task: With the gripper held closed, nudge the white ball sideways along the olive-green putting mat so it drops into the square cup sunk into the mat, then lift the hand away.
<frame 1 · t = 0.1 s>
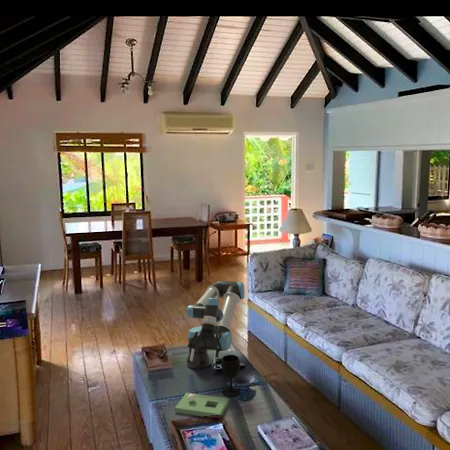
hand: (202, 361, 265), 15 cm above the table, tool tilted 35°, fingers open, 13 cm apart
putting mat: (202, 407, 246), on the table
ball: (191, 397, 247), point 4 cm above the table, touching putting mat
wine glass: (231, 392, 262), on the table
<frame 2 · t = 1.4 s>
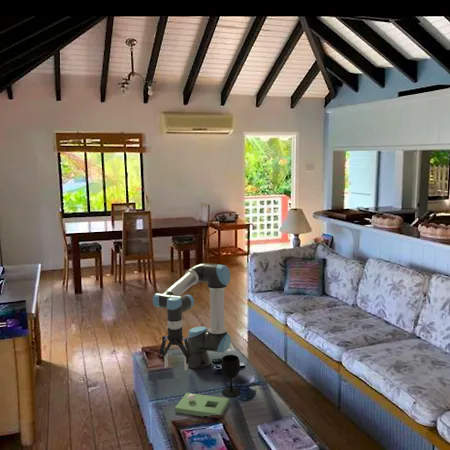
hand: (176, 367, 248), 20 cm above the table, tool pointing down, fingers open, 10 cm apart
nothing on the table moved.
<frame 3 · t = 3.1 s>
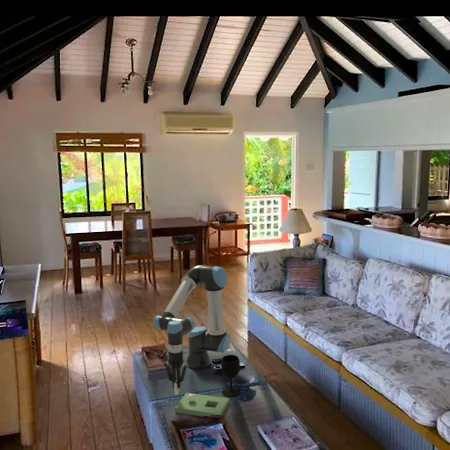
hand: (176, 393, 249), 6 cm above the table, tool pointing down, fingers closed
nothing on the table moved.
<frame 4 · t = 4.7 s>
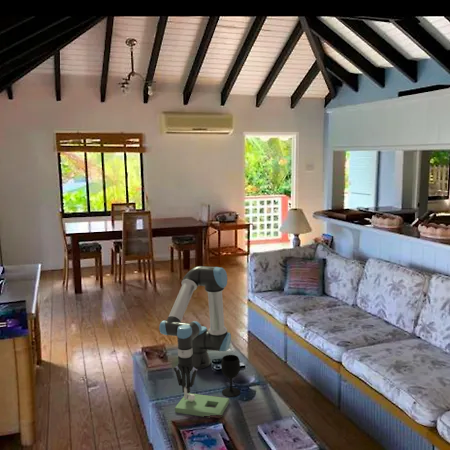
hand: (186, 398, 248), 4 cm above the table, tool pointing down, fingers closed
ball: (191, 397, 247), point 4 cm above the table, touching gripper, putting mat
everything else where it was.
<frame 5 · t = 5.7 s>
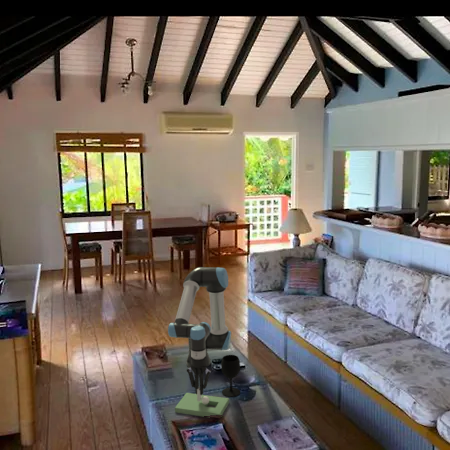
hand: (199, 400, 246), 4 cm above the table, tool pointing down, fingers closed
ball: (205, 400, 245), point 4 cm above the table, tilted 134°, touching putting mat
everything else where it was.
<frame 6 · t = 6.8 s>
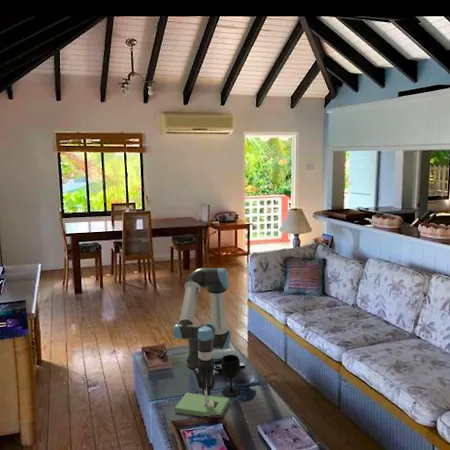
hand: (206, 401, 245), 4 cm above the table, tool pointing down, fingers closed
ball: (210, 405, 244), point 2 cm above the table, tilted 33°, touching gripper, putting mat
everything else where it was.
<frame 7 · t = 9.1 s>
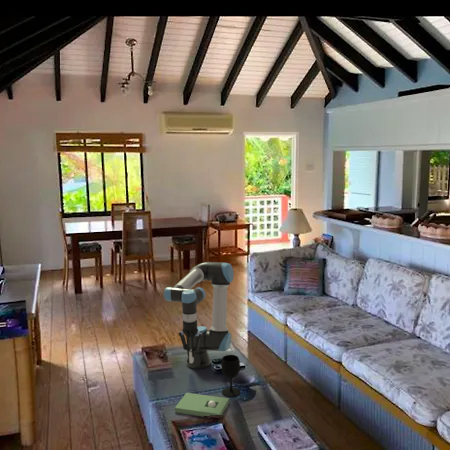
hand: (191, 362, 253), 21 cm above the table, tool pointing down, fingers closed
ball: (211, 404, 244), point 2 cm above the table, tilted 25°, touching putting mat
everything else where it was.
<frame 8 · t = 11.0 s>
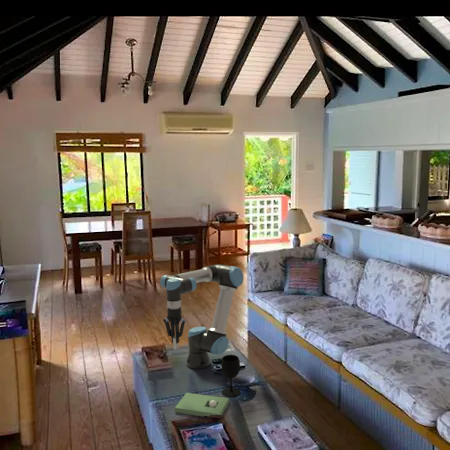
hand: (175, 348, 262), 24 cm above the table, tool pointing down, fingers closed
ball: (213, 404, 245), point 2 cm above the table, tilted 33°, touching putting mat
everything else where it was.
at the end: ball 0.9 cm from the target spot on the putting mat, point 2.3 cm above the putting mat's base; wine glass moved 0.2 cm from its start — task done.
